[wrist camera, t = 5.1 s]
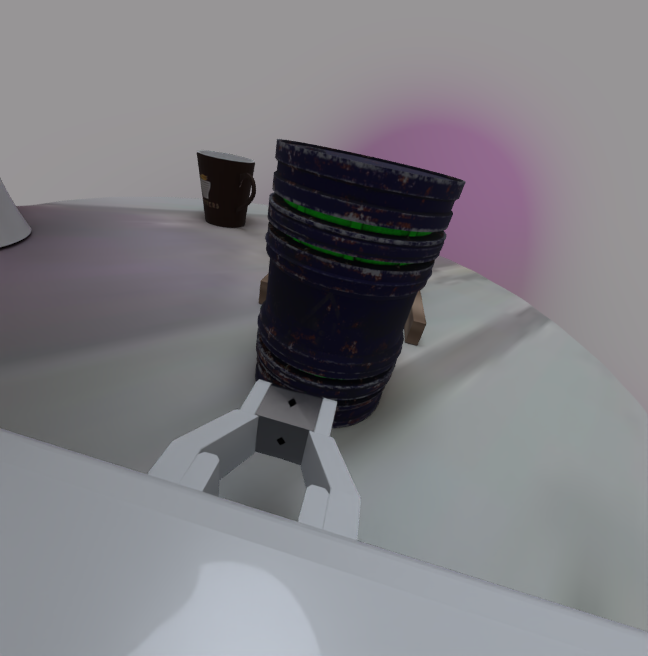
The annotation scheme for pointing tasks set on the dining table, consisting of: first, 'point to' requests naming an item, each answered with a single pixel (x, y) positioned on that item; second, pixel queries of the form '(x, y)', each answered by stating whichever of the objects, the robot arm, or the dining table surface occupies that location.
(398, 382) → the dining table surface
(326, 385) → the dark blue cylinder
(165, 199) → the dining table surface
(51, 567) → the robot arm
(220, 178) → the coffee mug
